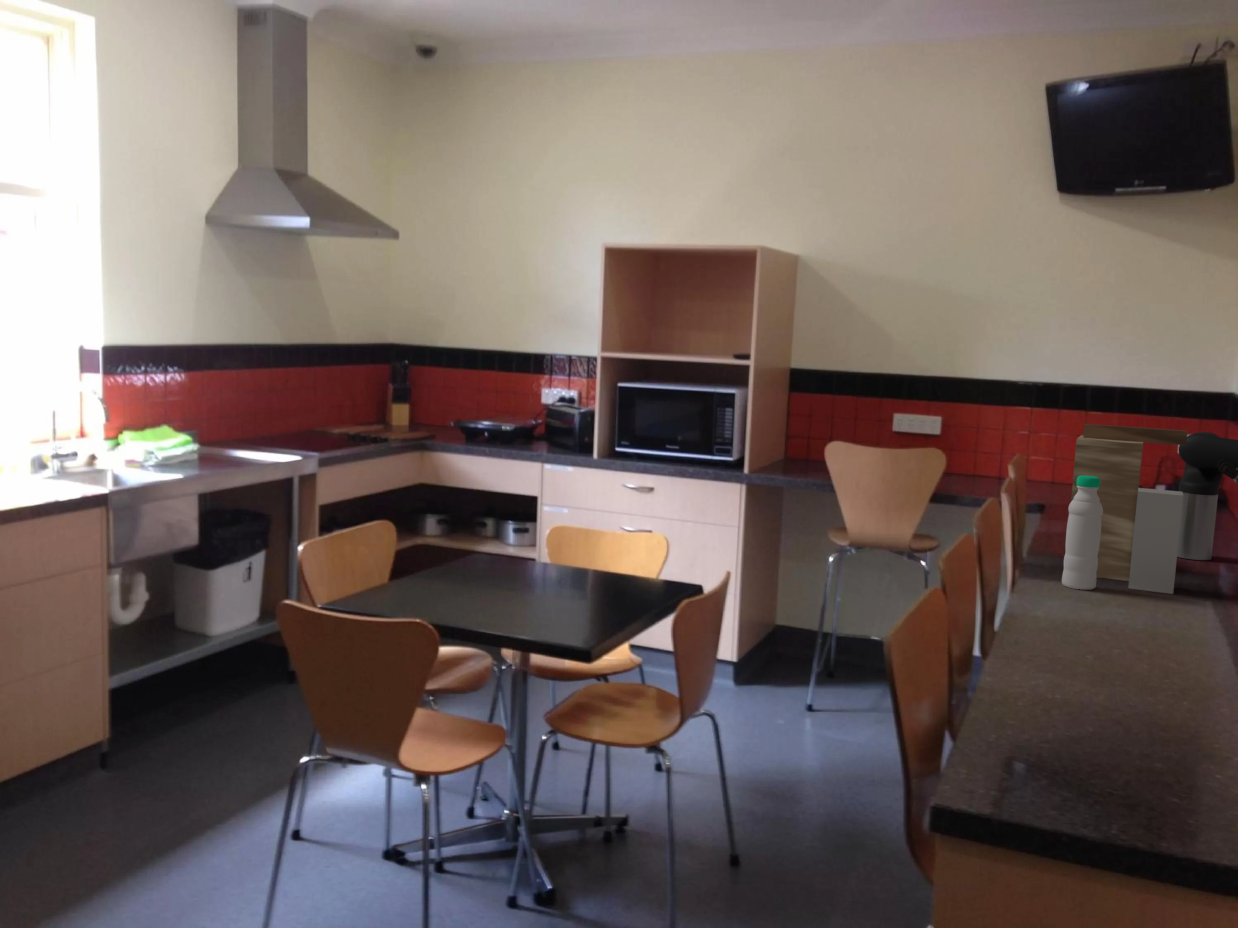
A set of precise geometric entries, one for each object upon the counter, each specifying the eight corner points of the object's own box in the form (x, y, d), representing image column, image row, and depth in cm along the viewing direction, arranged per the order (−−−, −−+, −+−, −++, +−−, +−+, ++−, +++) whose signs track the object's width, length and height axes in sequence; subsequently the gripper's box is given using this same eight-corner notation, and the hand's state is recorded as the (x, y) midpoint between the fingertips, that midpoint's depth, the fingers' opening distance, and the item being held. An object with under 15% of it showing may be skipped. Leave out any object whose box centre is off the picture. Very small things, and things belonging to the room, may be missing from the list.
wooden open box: (1069, 561, 273) (1081, 435, 269) (1130, 568, 267) (1143, 439, 263) (1064, 573, 257) (1076, 439, 253) (1129, 581, 251) (1142, 444, 247)
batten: (1084, 437, 262) (1085, 423, 262) (1185, 444, 253) (1187, 430, 252) (1083, 437, 259) (1084, 424, 259) (1186, 445, 250) (1187, 431, 249)
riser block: (1129, 581, 250) (1138, 487, 247) (1172, 587, 246) (1182, 491, 243) (1128, 588, 242) (1137, 491, 240) (1173, 593, 239) (1183, 495, 236)
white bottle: (1094, 585, 244) (1104, 475, 241) (1096, 592, 237) (1107, 479, 234) (1060, 582, 246) (1070, 473, 243) (1062, 588, 239) (1072, 476, 237)
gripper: (1278, 523, 238) (1210, 480, 243) (1273, 515, 250) (1208, 474, 256) (1302, 495, 235) (1232, 453, 240) (1295, 488, 248) (1229, 448, 253)
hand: (1219, 464), depth 248 cm, fingers open, 8 cm apart
